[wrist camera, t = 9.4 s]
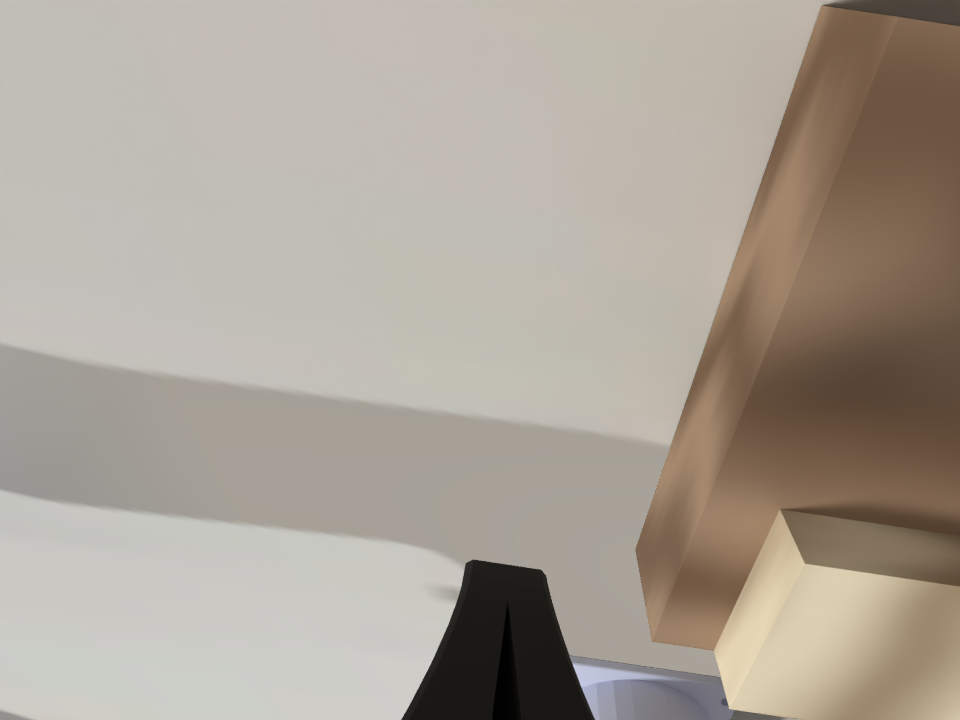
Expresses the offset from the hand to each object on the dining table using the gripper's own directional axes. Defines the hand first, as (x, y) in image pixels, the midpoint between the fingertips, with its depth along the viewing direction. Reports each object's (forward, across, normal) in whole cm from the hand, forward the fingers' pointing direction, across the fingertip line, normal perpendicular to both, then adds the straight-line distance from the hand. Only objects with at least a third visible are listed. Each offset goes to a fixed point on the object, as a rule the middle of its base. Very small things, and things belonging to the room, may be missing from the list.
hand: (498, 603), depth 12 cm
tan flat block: (+10, -12, -1) cm, 16 cm away
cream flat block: (+6, -12, +5) cm, 15 cm away
